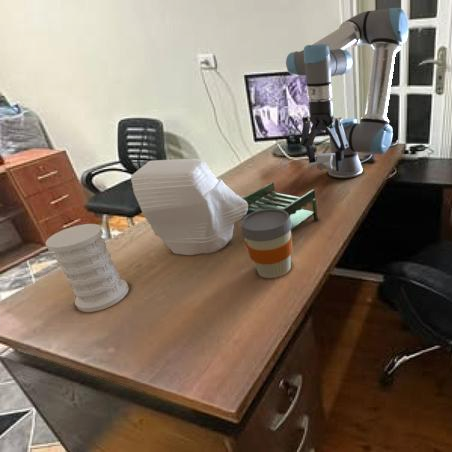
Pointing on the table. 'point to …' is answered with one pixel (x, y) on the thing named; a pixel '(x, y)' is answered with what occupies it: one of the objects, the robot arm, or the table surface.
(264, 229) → the reusable coffee cup
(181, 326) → the table surface
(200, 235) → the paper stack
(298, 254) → the table surface
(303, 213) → the rack
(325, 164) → the bunny figurine
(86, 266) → the decorative container
